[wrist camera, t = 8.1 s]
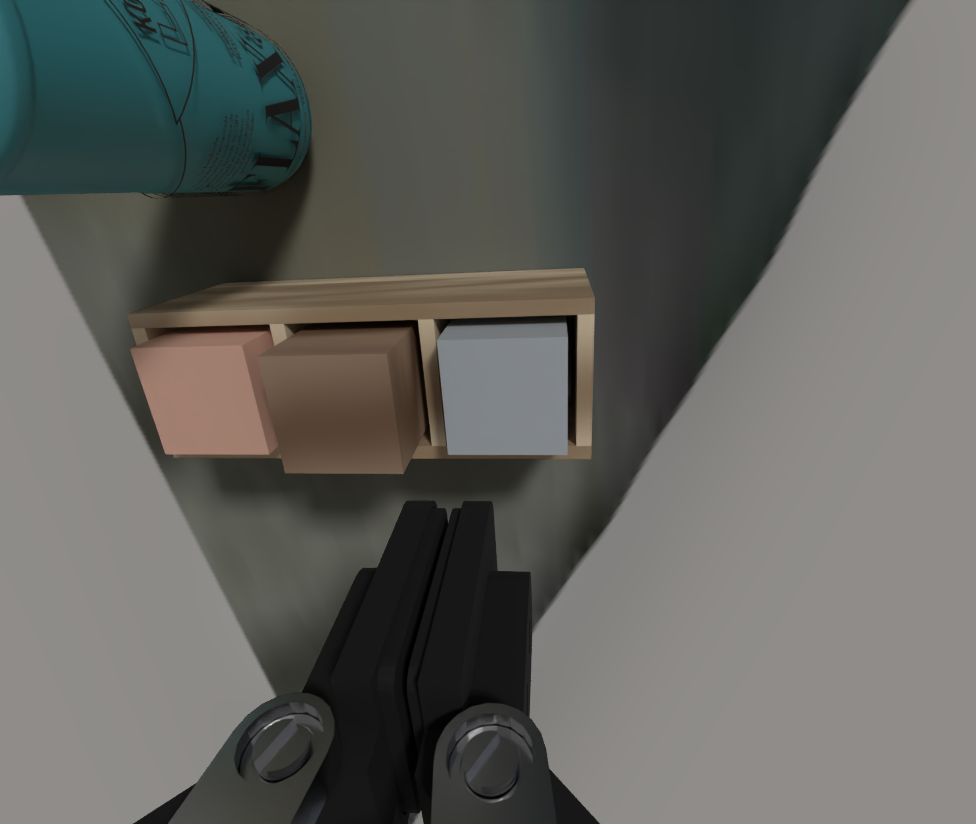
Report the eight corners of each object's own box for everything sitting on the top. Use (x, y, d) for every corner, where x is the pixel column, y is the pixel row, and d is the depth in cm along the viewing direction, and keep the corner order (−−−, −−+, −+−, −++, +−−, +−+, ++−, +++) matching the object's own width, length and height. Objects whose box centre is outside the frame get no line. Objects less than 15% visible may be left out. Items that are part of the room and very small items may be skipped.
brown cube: (315, 321, 23) (256, 356, 18) (420, 317, 22) (386, 353, 18) (334, 418, 24) (284, 473, 20) (431, 417, 24) (403, 474, 19)
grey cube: (459, 308, 23) (436, 340, 19) (564, 305, 23) (567, 336, 18) (466, 405, 25) (447, 454, 21) (564, 403, 25) (567, 455, 20)
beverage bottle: (304, 219, 26) (-278, 312, 8) (178, 149, 25) (-788, 72, 7) (352, 80, 23) (-363, -276, 5) (212, -2, 23) (-1187, -747, 4)
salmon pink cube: (207, 317, 25) (129, 348, 20) (299, 314, 24) (241, 345, 20) (231, 407, 27) (165, 454, 22) (318, 406, 26) (269, 454, 21)
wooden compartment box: (223, 282, 28) (126, 313, 21) (583, 267, 25) (594, 297, 19) (253, 399, 30) (174, 458, 24) (582, 395, 28) (590, 459, 22)
